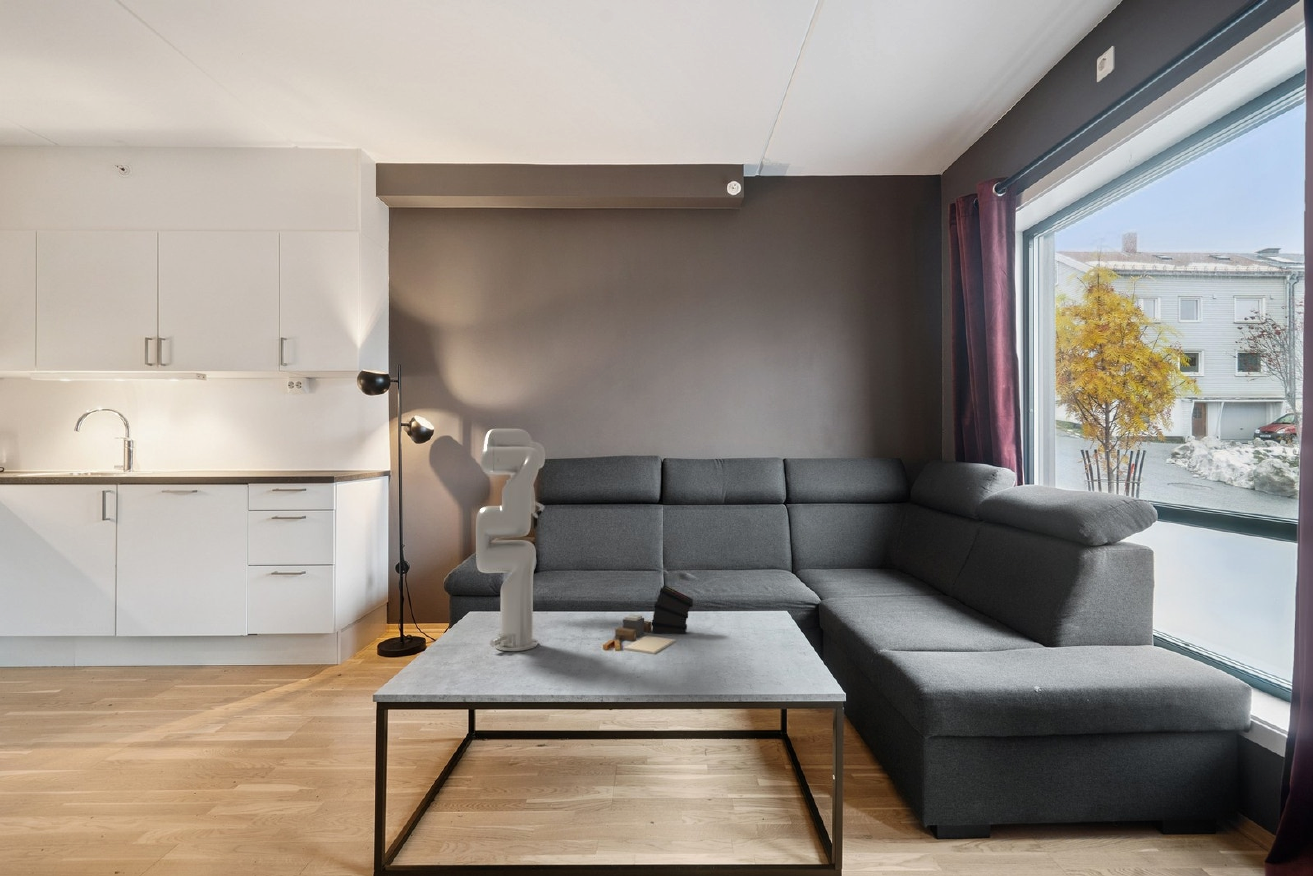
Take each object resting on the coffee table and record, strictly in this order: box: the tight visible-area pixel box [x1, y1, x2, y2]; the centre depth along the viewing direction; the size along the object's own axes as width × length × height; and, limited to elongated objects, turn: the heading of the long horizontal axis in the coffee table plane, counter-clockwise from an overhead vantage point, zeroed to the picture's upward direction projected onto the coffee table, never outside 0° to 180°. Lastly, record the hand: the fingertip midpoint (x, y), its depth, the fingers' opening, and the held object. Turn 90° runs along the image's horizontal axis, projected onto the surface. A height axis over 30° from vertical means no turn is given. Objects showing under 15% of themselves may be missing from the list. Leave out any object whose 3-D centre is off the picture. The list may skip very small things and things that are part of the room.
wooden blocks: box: [614, 620, 652, 642], centre depth 207 cm, size 13×6×3 cm, turn 153°
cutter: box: [602, 635, 622, 651], centre depth 196 cm, size 11×5×1 cm, turn 173°
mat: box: [623, 635, 676, 655], centre depth 195 cm, size 14×10×1 cm
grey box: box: [622, 613, 645, 639], centre depth 207 cm, size 5×5×6 cm
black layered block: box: [651, 584, 694, 635], centre depth 210 cm, size 4×13×15 cm, turn 87°
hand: (520, 529), depth 238 cm, fingers open, 9 cm apart
